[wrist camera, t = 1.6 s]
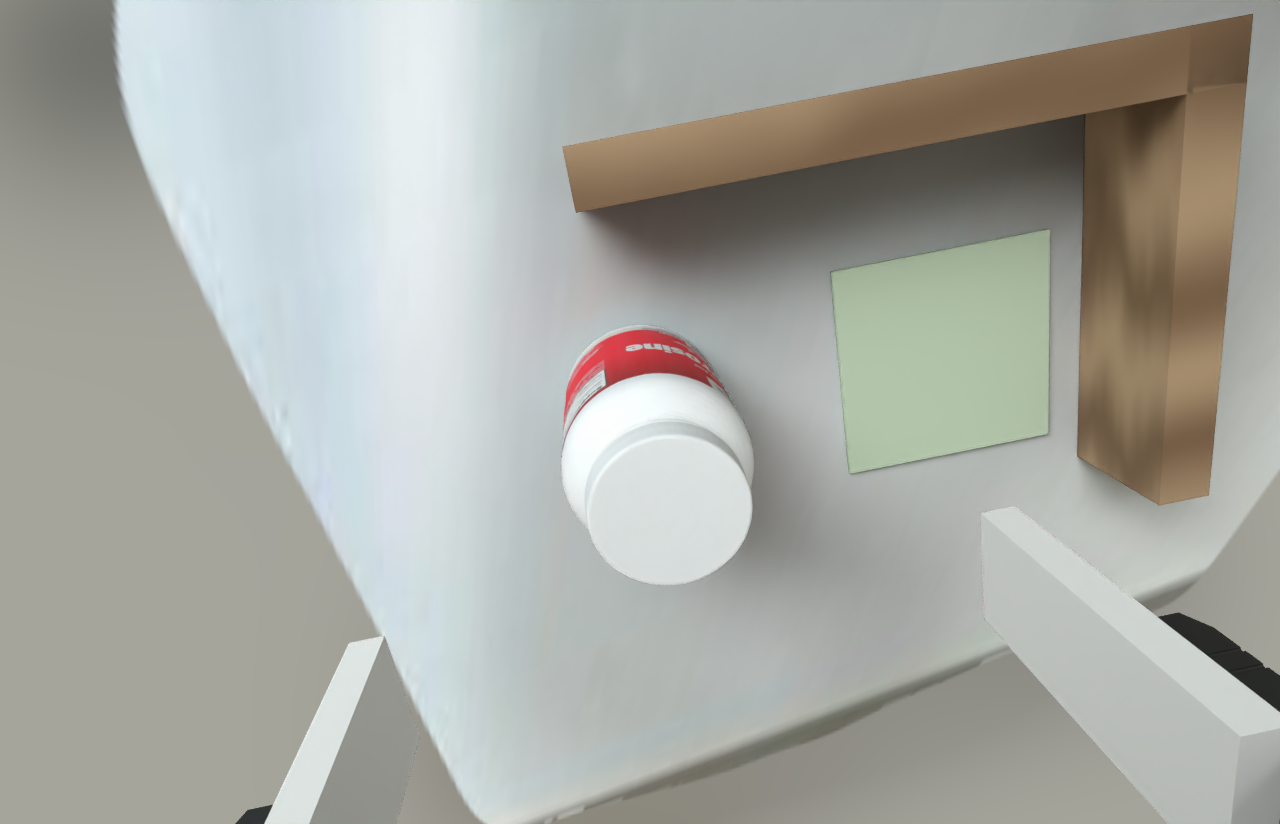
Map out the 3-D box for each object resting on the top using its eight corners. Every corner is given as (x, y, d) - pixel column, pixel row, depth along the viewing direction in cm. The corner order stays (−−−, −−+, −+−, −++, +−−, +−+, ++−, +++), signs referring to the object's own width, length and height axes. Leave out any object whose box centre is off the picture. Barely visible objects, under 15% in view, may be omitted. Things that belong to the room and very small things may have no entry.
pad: (830, 271, 30) (832, 272, 30) (1047, 229, 30) (1050, 229, 30) (848, 472, 33) (850, 473, 33) (1045, 432, 33) (1048, 434, 33)
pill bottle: (741, 376, 31) (825, 488, 21) (654, 486, 32) (692, 644, 22) (621, 290, 29) (647, 365, 19) (535, 410, 31) (515, 541, 20)
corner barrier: (564, 148, 27) (562, 146, 23) (1138, 37, 28) (1253, 13, 23) (645, 543, 33) (656, 607, 28) (1120, 447, 34) (1208, 495, 29)
